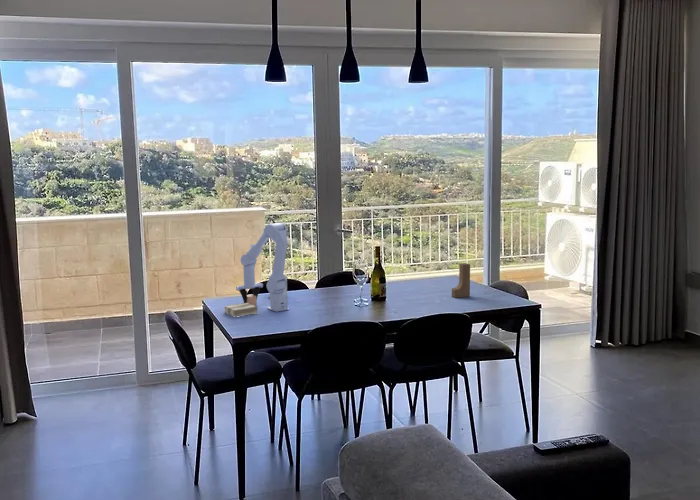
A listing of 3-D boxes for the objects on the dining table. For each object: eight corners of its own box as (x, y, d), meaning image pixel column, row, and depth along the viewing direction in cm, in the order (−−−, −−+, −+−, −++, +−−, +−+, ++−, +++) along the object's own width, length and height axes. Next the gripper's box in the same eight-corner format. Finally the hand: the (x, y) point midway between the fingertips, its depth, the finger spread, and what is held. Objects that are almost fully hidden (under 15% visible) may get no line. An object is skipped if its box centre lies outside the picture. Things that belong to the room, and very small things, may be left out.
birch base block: (257, 314, 336) (257, 306, 335) (235, 318, 329) (234, 310, 328) (246, 310, 345) (246, 302, 345) (225, 313, 339) (224, 306, 338)
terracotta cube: (256, 305, 355) (256, 295, 354) (248, 306, 352) (247, 297, 351) (252, 303, 359) (252, 294, 358) (243, 304, 356) (243, 295, 355)
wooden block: (455, 298, 364) (455, 265, 361) (451, 296, 368) (451, 264, 365) (470, 296, 367) (470, 264, 364) (466, 295, 371) (466, 262, 368)
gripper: (258, 274, 360) (259, 299, 362) (233, 277, 352) (234, 302, 354) (264, 276, 355) (265, 301, 357) (239, 279, 346) (240, 305, 349)
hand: (250, 302), depth 355 cm, fingers closed on terracotta cube, 5 cm apart
